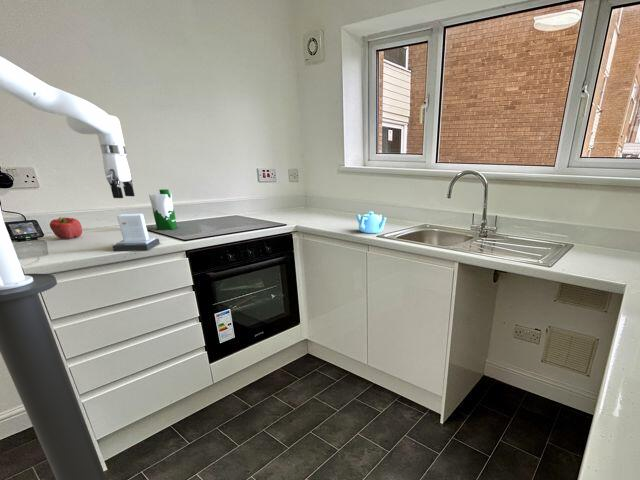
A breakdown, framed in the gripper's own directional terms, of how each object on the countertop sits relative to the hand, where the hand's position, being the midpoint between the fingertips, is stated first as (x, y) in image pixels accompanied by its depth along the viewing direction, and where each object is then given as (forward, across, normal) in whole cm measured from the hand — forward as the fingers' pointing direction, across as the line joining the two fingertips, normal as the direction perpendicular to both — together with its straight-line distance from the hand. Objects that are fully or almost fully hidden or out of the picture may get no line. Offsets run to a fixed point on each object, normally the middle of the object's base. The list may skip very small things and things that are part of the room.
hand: (124, 197), depth 140 cm
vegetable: (+20, -21, -34) cm, 45 cm away
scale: (+20, 0, +1) cm, 20 cm away
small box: (+18, -1, 0) cm, 18 cm away
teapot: (+19, -31, +106) cm, 112 cm away
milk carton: (+20, -44, -2) cm, 49 cm away
